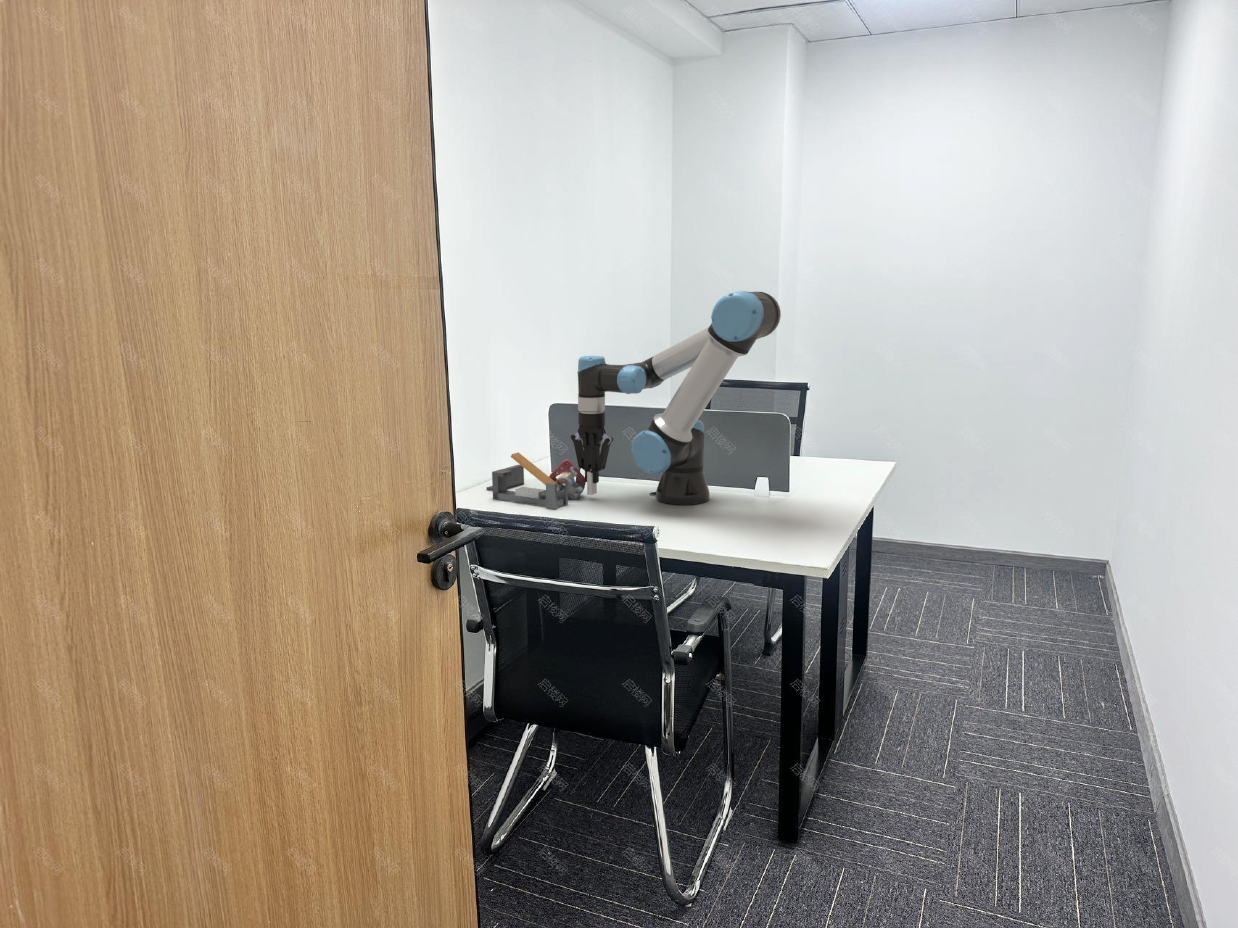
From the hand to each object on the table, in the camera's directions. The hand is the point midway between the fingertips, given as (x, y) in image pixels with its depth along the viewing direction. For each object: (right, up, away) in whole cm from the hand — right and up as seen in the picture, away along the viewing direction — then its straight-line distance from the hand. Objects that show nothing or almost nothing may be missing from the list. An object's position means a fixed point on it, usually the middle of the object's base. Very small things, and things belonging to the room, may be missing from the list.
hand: (591, 493), depth 240 cm
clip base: (-18, -2, -3) cm, 18 cm away
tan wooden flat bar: (-15, +6, -6) cm, 18 cm away
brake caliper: (-7, -1, +3) cm, 8 cm away
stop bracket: (-27, +1, +16) cm, 31 cm away
